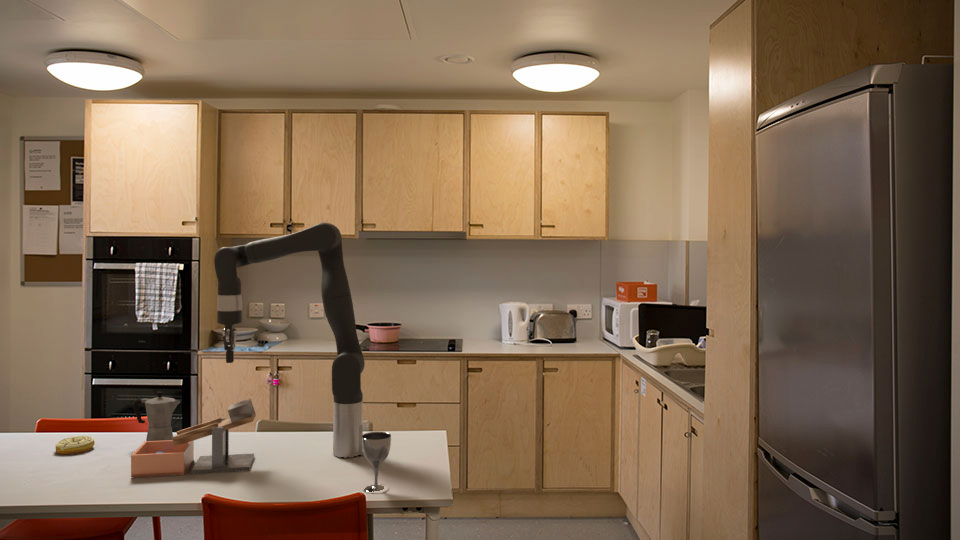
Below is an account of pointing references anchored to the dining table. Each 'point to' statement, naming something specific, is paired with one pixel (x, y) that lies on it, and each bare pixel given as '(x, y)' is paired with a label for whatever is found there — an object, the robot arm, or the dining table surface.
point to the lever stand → (222, 456)
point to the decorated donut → (75, 444)
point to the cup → (161, 458)
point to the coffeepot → (157, 416)
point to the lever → (218, 423)
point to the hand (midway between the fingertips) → (229, 362)
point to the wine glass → (376, 453)
